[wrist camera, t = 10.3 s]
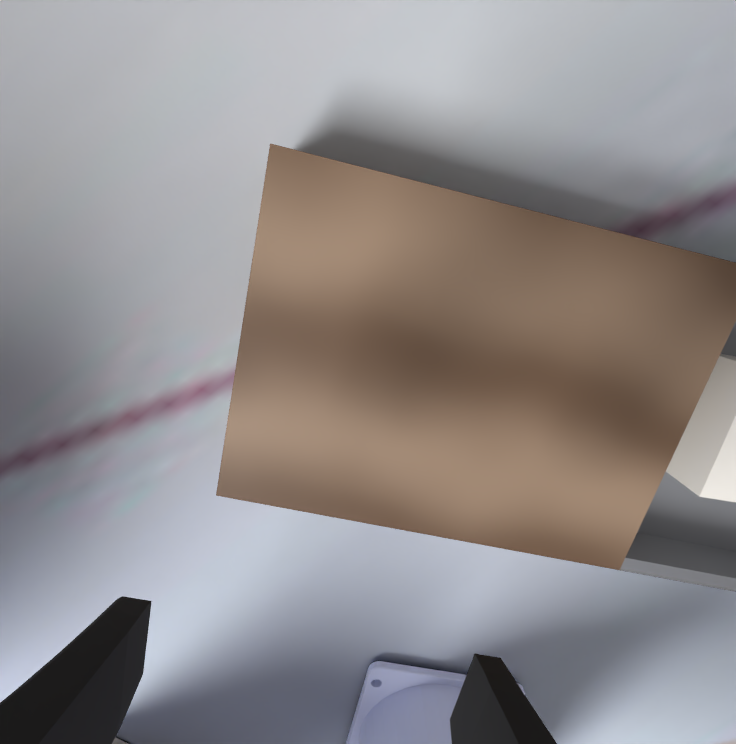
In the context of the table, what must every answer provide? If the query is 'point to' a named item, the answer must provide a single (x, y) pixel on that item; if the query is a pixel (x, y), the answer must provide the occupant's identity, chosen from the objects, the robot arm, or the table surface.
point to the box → (687, 532)
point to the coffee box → (118, 741)
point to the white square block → (711, 438)
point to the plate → (463, 363)
